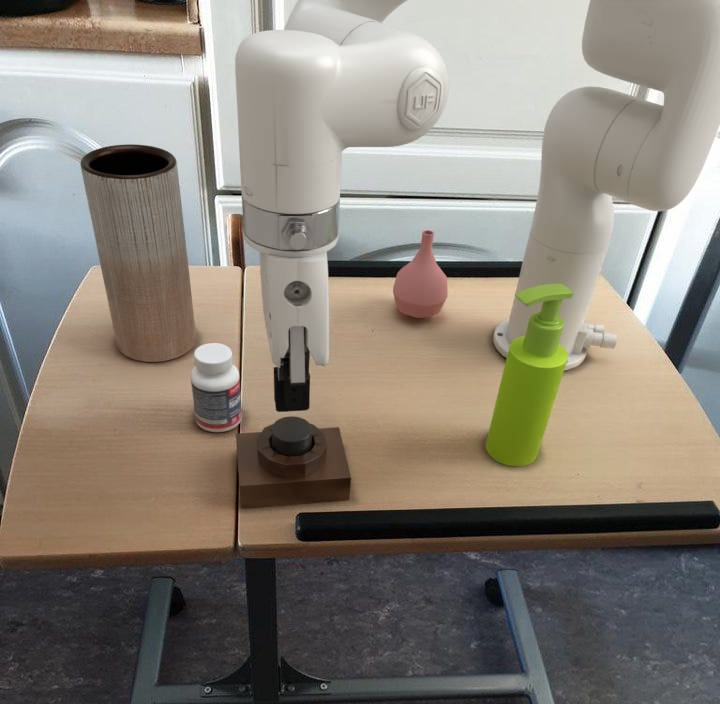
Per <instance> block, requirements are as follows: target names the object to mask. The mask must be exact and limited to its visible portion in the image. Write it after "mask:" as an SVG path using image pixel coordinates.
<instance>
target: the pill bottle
mask: <svg viewBox="0 0 720 704" xmlns="http://www.w3.org/2000/svg"><path fill="white" fill-rule="evenodd" d="M193 352H194V353H193V359H194V365H195V366H194V367H193V368H192V370H191V373H190V384H191V393H192V399H193V400H192V401H193V409H194V410H193V411H194V419H195V423H196V425H198V427H199V428H201V429H202V430H205V431H207V432H211V433H225V432H227V431H231V430H233V429H235V428H236V427H237V426H239V424H240V423H241V422H242V418H243V410H242V396H241V392H242V391H241V377H240V372H239V369H238V368H237V367H236V365H235V364H234V358H233V351H232V349H231V348H230V347H229V346H228V345H226V344H224V343H219V342H209V343H205V344H201V345H199V346H198V347H196V349H195V350H194V351H193Z"/></svg>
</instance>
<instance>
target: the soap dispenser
mask: <svg viewBox="0 0 720 704" xmlns="http://www.w3.org/2000/svg"><path fill="white" fill-rule="evenodd" d="M515 293H516V292H515ZM515 293H514V297H515V296H516V297H517V298H518V299H519V300H520V301H521V302H522V303H523V304H524V305H526V306H527V307H529V306H531V305H534V304H537V303H540V302H543V304H542V308H541V312H536V313H534V314H532V315H531V317H530V319H529V323H528V327H527V331H526V335H525V336H523V337H519V338H516V339H515V340H513V341H512V342H511V344H510V347H509V351H508V355H507V358H506V359H505V364H504V367H503V371H502V376H501V380H500V384H499V388H498V391H497V397H496V400H495V403H494V408H493V412H492V418H491V421H490V425H489V429H488V432H487V433H488V434H487V437H486V442H485V449H486V452H487V454H489V456H490V457H491V458H492V459H493V460H495V461H496V462H497V463H500V464H503V465H505V466H509V467H526V466H529V465H531V464H532V463H534V462H535V461H536V460H537V458H538V455H539V452H540V448H541V445H542V442H543V438H544V436H545V432H546V430H547V426H548V422H549V420H550V418H551V414H552V410H553V407H554V405H555V400H556V397H557V395H558V391H559V388H560V385H561V381H562V378H563V376H564V372H565V371H564V369H565V366H566V363H567V359H568V354H567V351H566V350H565V349H564V347H563V346H561V345H560V344H559V341H560V338H561V335H562V331H563V328H564V321H563V319H562V318H561V317H559V316H558V313H559V310H560V307H561V303H562V300H563V299H569V298H572V296H573V292H572V291H570V290H569V289H568V288H567V287H565V286H564V285H563V284H548V285H540V286H535V287H531V288H528V289H525V290H523V291H520V292H518V293H516V294H515Z"/></svg>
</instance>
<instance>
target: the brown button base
mask: <svg viewBox="0 0 720 704" xmlns="http://www.w3.org/2000/svg"><path fill="white" fill-rule="evenodd" d="M273 424H274V423H271V424H270V425H267V426H265V427H264V428H263V429H262V430H261V431H255V432H253V431H252V432H239V433H238V432H237V433H235V444H236V456H237V457H236V458H237V471H238V483H239V495H240V497H239V498H240V509H254V508H265V507H266V508H267V507H268V508H269V507H278V506H291V505H293V506H294V505H303V504H316V503H317V504H318V503H330V502H342V501H350V499H351V498H350V497H351V486H352V475H351V470H350V466H349V462H348V459H347V455H346V450H345V445H344V442H343V437H342V434H341V430H340V427H339V426H336V427H334V426H333V427H320V428H319V427H317V426H316V425H315V424H314V423H310V424H311V426H312V446H311V449H310V450H309V451H308V452H307V453H306V454H304V455H302V456H292V457H287V456H284V455H280V454H278V453H277V452H276V451H275V450H274V449H273V447H272V426H273Z"/></svg>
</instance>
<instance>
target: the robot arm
mask: <svg viewBox="0 0 720 704" xmlns="http://www.w3.org/2000/svg"><path fill="white" fill-rule="evenodd" d="M407 1H408V0H297V1H296V2H295V5H294V7H293V8H292V10H291V12H290V14H289V16H288V19H287V20H286V24H285V26H284V27H283V29H272V30H271V29H270V30H269V29H268V30H263V31H257V32H254V33H252V34H249V35H247V36H246V37H244V38H243V39H242V41H241V42H240V43H239V44H238V46H237V50H236V53H235V59H234V61H235V62H234V69H235V70H234V71H235V73H234V74H235V93H236V111H237V112H236V113H237V130H238V131H237V133H238V153H239V168H240V169H239V171H240V189H241V191H240V192H241V206H242V207H241V208H242V210H241V211H242V227H243V230H242V231H243V240H244V241H245V243H246V244H247V245H248V246H249V247H251V248H252V249H254V250H255V251H257V252H259V272H260V274H259V275H260V287H261V288H260V289H261V299H262V310H263V317H264V322H265V324H264V325H265V329H266V335H267V340H268V341H267V342H268V345H269V350H270V355H271V360H272V364H273V365H274V366H273V398H274V406H275V411H276V412H279V413H286V412H303V411H304V412H305V411H308V410H310V401H311V400H310V398H311V374H310V359H311V358H312V361H313V362H314V364H315V366H317V367H318V366H322V367H326V365H328V364H329V361H330V283H329V281H330V280H329V279H330V278H329V262H328V252H329V251H331V250H332V249H334V248H335V247H336V245H337V243H338V242H339V230H340V229H339V228H340V209H341V208H340V206H341V185H342V183H341V182H342V162H343V161H342V160H343V152H344V151H345V150H346V149H348V148H393V147H399V146H405V145H408V144H411V143H413V142H414V141H415V142H416V141H417V140H419V139H421V138H422V137H423V136H425V135H426V134H427V133H429V131H431V129H432V128H433V127H434V126H435V125H436V124H437V122H438V121H439V119H440V118H441V116H442V115H443V112H444V110H445V107H446V104H447V102H448V97H449V90H450V77H449V73H448V69H447V66H446V63H445V61H444V59H443V57H442V56H441V54H440V52H439V51H438V50H437V48H436V47H435V46H434V45H432V44H431V43H430V42H429V41H428V40H426V39H425V38H423V37H421V36H420V35H418V34H416V33H413V32H411V31H408V30H405V29H401V28H399V27H395V26H392V25H388V24H386V23H384V21H385V20H386V19H387V18H388V17H389V16H390V14H392V13H393V12H394V11H396V9H397V8H399V7H400V6H401V5H403V4H404V3H405V2H407ZM588 4H589V5H588V6H587V7H588V8H587V12H586V16H585V21H584V26H583V31H582V39H581V53H582V56H583V60H584V61H585V63H586V65H588V66H589V67H590V68H591V69H593V70H594V71H596V72H598V73H601V74H602V75H605V76H608V77H611V78H614V79H617V80H620V81H623V82H627V83H631V84H634V85H638V86H640V87H645V88H648V89H651V90H654V91H659V92H661V93H663V105H662V104H658V103H655V102H652V101H650V100H646V99H645V98H642V97H638V96H635V95H632V94H629V93H628V94H627V93H624V92H621V91H618V90H614V89H611V88H607V87H602V86H582V87H581V86H580V87H578V88H575V89H572V90H570V91H568V92H566V93H565V94H564V95H563V96H562V97H560V98H559V99H558V100H557V101H556V103H555V104H554V106H553V107H552V108H551V110H550V113H549V114H548V116H547V119H546V122H545V124H544V129H543V134H542V141H541V158H540V159H541V160H540V177H539V187H538V192H537V198H536V204H535V207H534V212H533V217H532V221H531V224H530V225H531V227H530V230H529V234H528V237H527V242H526V246H525V249H524V256H523V259H522V264H521V268H520V272H519V276H518V279H517V280H518V281H517V283H516V284H517V285H516V289H515V292H514V297H513V301H512V306H511V309H510V314H509V317H508V318H507V319H505V320H503V321H501V322H500V323H498V324H497V326H496V327H495V329H494V332H493V336H492V337H493V339H492V341H493V342H492V343H493V345H494V347H495V349H496V351H498V352H499V354H501V356H502V357H504V358H506V359H507V355H508V351H509V347H510V344H511V342H512V341H513V340H515V339H516V338H519V337H523V336H525V335H526V331H527V327H528V323H529V319H530V317H531V315H532V314H534V313H536V312H541V308H542V304H543V302H540V303H537V304H534V305H531V306H529V307H527V306H526V305H524V304H523V303H522V302H521V301H520V300H519V299H518V298H517V297H516V296H515V294H516V293H518V292H520V291H523V290H525V289H528V288H531V287H535V286H540V285H548V284H563V285H564V286H565V287H567V288H568V289H569V290H570V291H572V292H573V296H572V298H569V299H563V300H562V303H561V307H560V310H559V313H558V316H559V317H561V318H562V319H563V321H564V328H563V331H562V335H561V338H560V341H559V344H560V345H561V346H563V347H564V349H565V350H566V351H567V354H568V359H567V363H566V366H565V369H564V372H565V371H568V370H572V369H575V368H576V367H578V366H580V365H581V364H582V363H583V362H584V360H585V358H586V356H587V353H588V349H590V348H591V347H598V348H603V349H611V350H614V349H615V348H616V345H617V341H618V335H617V334H616V333H610V332H605V330H606V329H605V325H603V324H590V323H588V322H587V321H586V318H587V314H588V311H589V308H590V304H591V301H592V299H593V296H594V292H595V289H596V286H597V283H598V280H599V277H600V273H601V270H602V267H603V264H604V260H605V259H606V255H607V251H608V249H609V245H610V242H611V239H612V236H613V233H614V232H613V231H614V227H615V209H614V202H613V198H615V199H617V200H620V201H623V202H626V203H628V204H631V205H633V206H636V207H639V208H642V209H645V210H648V211H653V212H666V211H668V210H672V209H673V208H675V207H677V206H678V205H680V204H681V203H682V202H683V201H684V200H685V199H686V197H687V196H688V195H689V194H690V193H691V191H692V190H693V188H694V186H695V185H696V182H697V181H698V179H699V177H700V175H701V173H702V171H703V168H704V166H705V164H706V161H707V159H708V156H709V153H710V151H711V149H712V147H713V143H714V141H715V138H716V135H717V133H718V130H719V128H720V0H589V3H588Z"/></svg>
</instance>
